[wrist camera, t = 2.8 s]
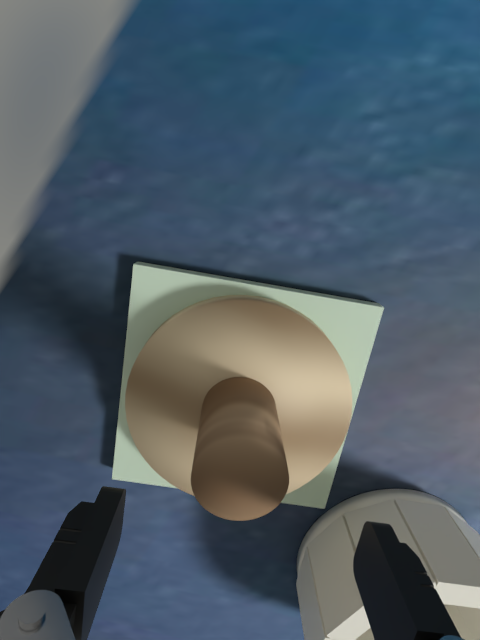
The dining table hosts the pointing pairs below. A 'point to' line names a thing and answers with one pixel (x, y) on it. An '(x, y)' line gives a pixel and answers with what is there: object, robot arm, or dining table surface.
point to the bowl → (411, 528)
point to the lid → (238, 403)
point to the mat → (191, 287)
